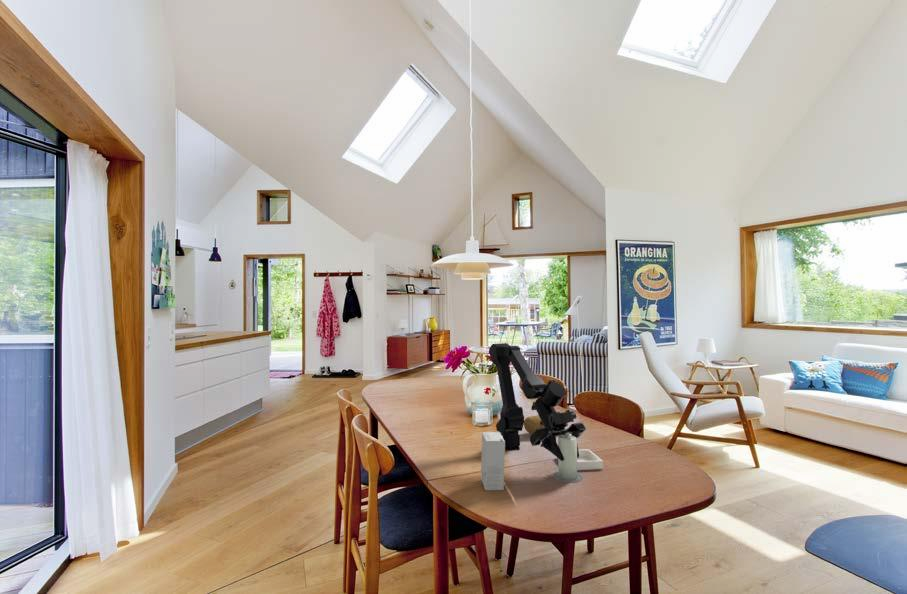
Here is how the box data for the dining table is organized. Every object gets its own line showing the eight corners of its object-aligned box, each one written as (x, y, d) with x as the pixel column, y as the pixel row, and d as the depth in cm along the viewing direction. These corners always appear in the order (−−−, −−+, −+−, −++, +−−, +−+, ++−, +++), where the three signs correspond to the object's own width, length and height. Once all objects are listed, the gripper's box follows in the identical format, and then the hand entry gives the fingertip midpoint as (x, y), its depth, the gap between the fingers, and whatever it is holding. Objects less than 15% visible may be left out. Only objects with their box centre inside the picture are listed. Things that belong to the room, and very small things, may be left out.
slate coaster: (558, 485, 133) (558, 483, 133) (548, 473, 142) (548, 471, 142) (587, 483, 134) (587, 481, 134) (576, 472, 143) (576, 470, 143)
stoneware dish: (569, 472, 143) (569, 462, 143) (557, 459, 154) (557, 450, 154) (603, 470, 144) (603, 460, 144) (588, 458, 155) (588, 449, 155)
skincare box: (480, 480, 137) (480, 431, 137) (499, 479, 138) (499, 431, 138) (485, 491, 129) (485, 440, 129) (505, 490, 129) (505, 439, 129)
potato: (560, 435, 182) (560, 416, 182) (532, 440, 176) (532, 420, 176) (546, 429, 191) (545, 410, 191) (518, 433, 184) (518, 414, 185)
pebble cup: (562, 480, 135) (562, 435, 135) (555, 473, 140) (555, 430, 140) (579, 479, 135) (579, 435, 135) (573, 472, 141) (572, 429, 141)
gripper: (535, 403, 138) (558, 450, 127) (581, 397, 146) (607, 441, 136) (520, 423, 145) (541, 468, 135) (565, 416, 153) (588, 458, 143)
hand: (570, 458), depth 137 cm, fingers closed on pebble cup, 6 cm apart
